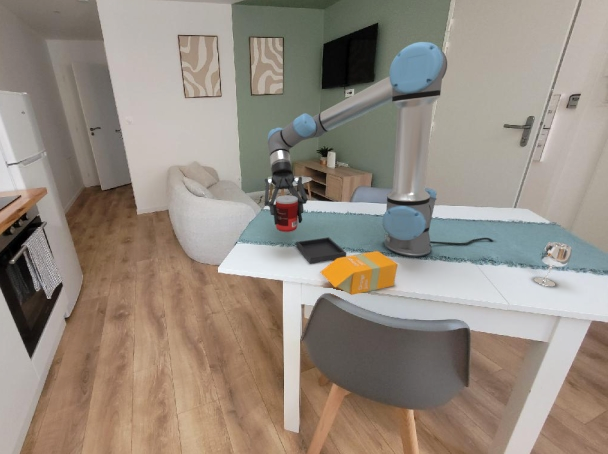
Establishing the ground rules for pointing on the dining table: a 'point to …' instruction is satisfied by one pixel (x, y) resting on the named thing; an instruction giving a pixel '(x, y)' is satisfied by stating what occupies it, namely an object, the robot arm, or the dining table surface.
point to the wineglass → (554, 259)
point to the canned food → (287, 213)
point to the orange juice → (361, 272)
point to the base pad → (320, 250)
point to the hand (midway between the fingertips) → (288, 222)
